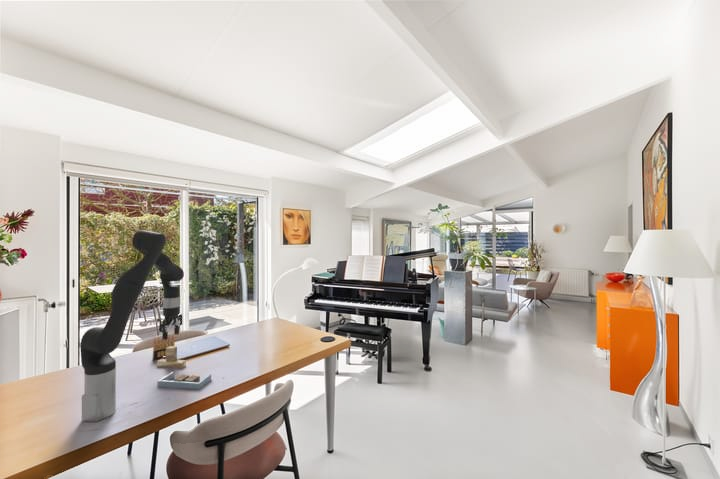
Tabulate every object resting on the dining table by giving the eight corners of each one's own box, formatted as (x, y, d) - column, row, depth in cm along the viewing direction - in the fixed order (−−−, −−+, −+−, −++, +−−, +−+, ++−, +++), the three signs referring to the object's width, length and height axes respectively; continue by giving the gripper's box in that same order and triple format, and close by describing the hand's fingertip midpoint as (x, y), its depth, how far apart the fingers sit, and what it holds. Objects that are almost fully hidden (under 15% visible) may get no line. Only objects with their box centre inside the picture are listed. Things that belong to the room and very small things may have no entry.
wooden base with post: (181, 368, 161) (182, 349, 161) (156, 366, 163) (157, 347, 163) (185, 365, 164) (185, 347, 164) (161, 364, 166) (161, 345, 166)
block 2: (191, 386, 143) (191, 380, 143) (184, 385, 144) (184, 379, 144) (199, 381, 148) (199, 376, 148) (192, 380, 149) (192, 375, 149)
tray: (198, 389, 140) (199, 383, 140) (157, 386, 142) (157, 380, 142) (211, 379, 149) (211, 374, 149) (172, 376, 151) (172, 371, 151)
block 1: (180, 385, 143) (180, 380, 143) (173, 384, 145) (173, 379, 144) (189, 380, 148) (189, 375, 148) (182, 379, 149) (182, 374, 149)
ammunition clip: (153, 360, 170) (153, 338, 170) (152, 359, 171) (152, 337, 171) (175, 355, 178) (175, 334, 178) (174, 354, 179) (174, 333, 179)
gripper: (168, 309, 156) (168, 341, 156) (187, 303, 170) (186, 333, 170) (154, 308, 156) (154, 340, 157) (174, 302, 171) (173, 332, 171)
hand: (171, 336), depth 163 cm, fingers open, 8 cm apart
